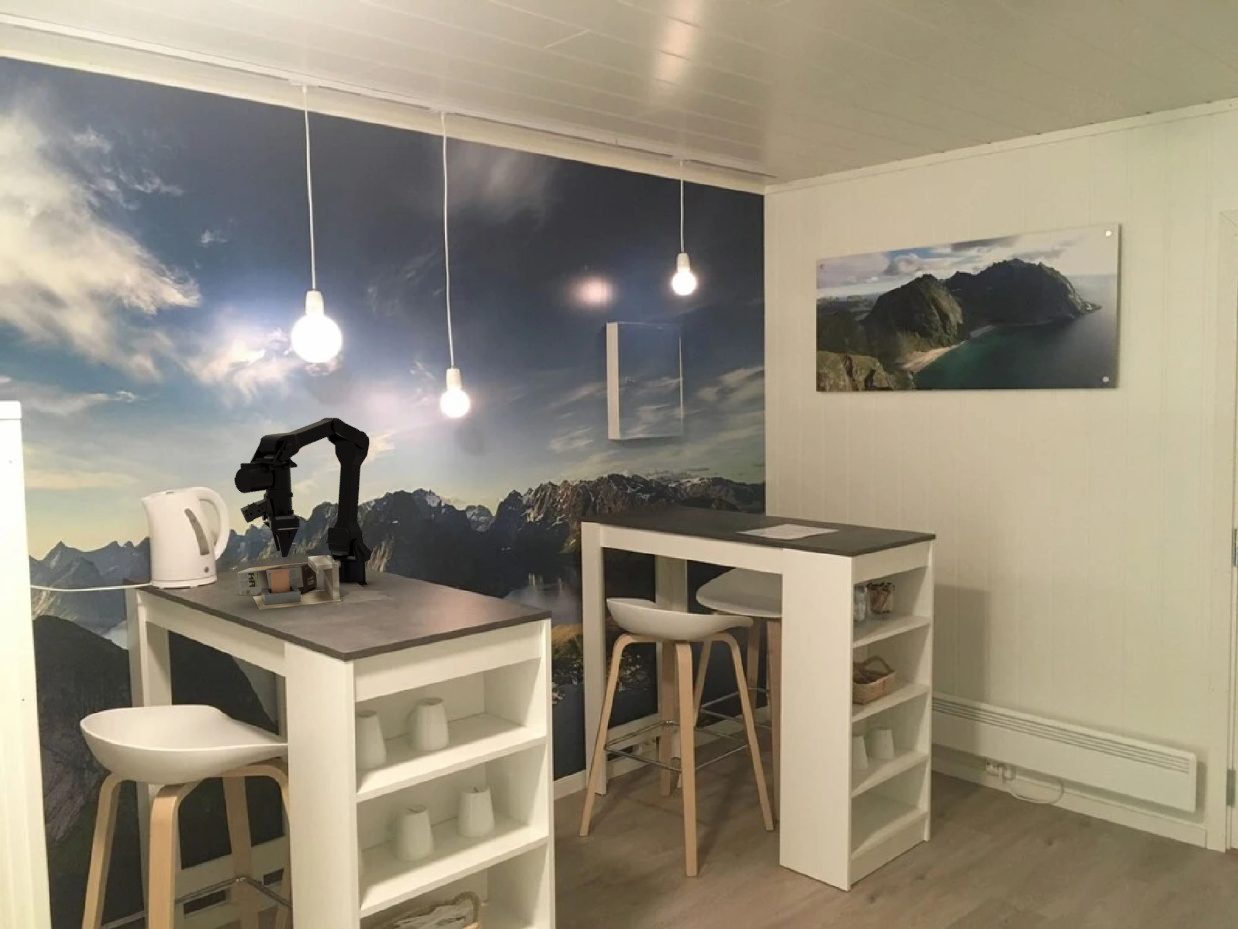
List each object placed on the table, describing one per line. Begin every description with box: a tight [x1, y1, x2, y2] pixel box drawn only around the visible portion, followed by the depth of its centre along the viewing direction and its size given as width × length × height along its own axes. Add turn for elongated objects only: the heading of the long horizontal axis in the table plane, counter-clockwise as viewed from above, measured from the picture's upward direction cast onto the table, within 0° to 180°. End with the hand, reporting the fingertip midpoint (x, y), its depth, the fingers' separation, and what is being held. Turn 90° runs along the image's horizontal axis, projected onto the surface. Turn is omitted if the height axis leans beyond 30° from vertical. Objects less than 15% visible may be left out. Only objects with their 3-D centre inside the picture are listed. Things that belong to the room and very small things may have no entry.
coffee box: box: [236, 562, 318, 596], centre depth 240 cm, size 9×6×16 cm
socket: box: [260, 585, 301, 606], centre depth 230 cm, size 8×8×2 cm
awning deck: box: [252, 554, 342, 611], centre depth 231 cm, size 18×15×10 cm
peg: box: [271, 569, 290, 593], centre depth 229 cm, size 4×4×7 cm
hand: (281, 554), depth 231 cm, fingers open, 9 cm apart
